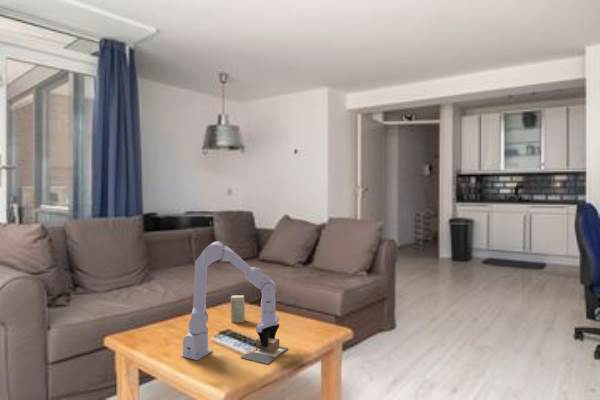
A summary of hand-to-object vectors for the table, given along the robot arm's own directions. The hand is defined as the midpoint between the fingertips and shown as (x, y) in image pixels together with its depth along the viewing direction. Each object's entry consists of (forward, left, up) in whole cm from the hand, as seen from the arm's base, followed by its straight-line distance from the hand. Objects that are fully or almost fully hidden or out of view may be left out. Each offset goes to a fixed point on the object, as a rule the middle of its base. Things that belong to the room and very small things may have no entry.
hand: (267, 344), depth 161 cm
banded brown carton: (0, 0, -2) cm, 2 cm away
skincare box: (+24, +31, -3) cm, 39 cm away
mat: (-2, 0, -3) cm, 4 cm away
